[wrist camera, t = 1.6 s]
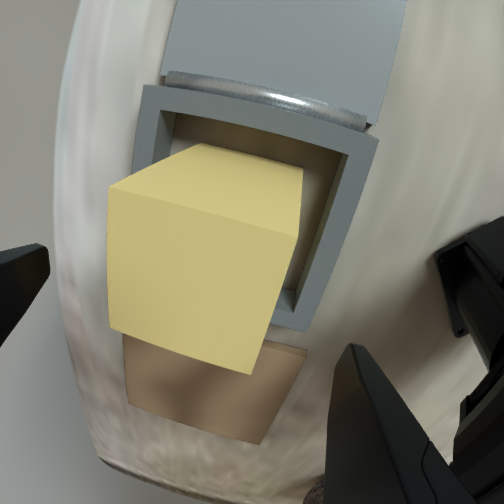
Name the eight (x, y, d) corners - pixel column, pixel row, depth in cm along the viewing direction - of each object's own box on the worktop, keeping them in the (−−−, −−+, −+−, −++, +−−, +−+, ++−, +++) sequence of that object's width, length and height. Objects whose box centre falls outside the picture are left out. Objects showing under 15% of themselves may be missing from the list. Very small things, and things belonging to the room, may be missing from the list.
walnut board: (306, 350, 19) (306, 357, 19) (260, 439, 25) (259, 445, 24) (125, 295, 20) (121, 300, 19) (131, 398, 25) (128, 403, 25)
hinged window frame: (412, -48, 8) (424, -64, 7) (307, 310, 18) (306, 332, 16) (213, -88, 9) (201, -105, 7) (141, 261, 18) (125, 278, 17)
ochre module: (303, 168, 15) (297, 237, 8) (276, 260, 17) (250, 374, 10) (200, 142, 15) (108, 186, 8) (185, 234, 17) (109, 327, 10)
